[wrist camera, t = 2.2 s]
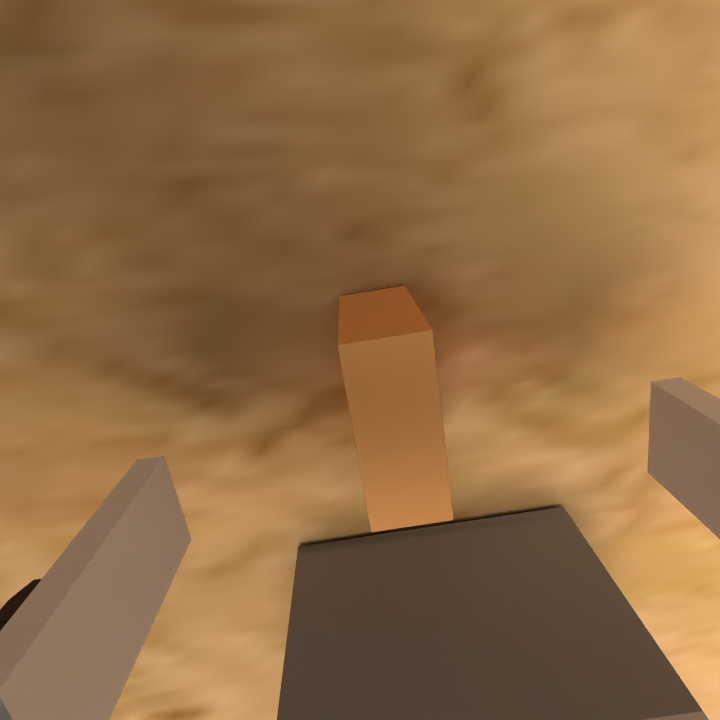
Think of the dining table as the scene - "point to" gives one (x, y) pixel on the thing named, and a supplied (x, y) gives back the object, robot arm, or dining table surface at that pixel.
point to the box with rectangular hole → (471, 629)
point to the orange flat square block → (394, 408)
